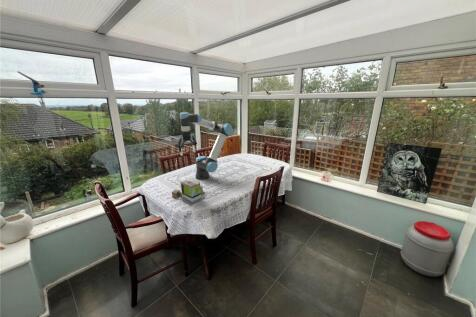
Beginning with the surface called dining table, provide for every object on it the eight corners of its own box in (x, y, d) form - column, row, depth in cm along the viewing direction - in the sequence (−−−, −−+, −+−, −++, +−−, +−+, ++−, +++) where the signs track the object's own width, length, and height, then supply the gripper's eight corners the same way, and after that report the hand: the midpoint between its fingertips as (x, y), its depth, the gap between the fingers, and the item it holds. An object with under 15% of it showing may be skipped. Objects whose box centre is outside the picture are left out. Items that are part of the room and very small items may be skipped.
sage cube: (184, 193, 170) (184, 189, 168) (186, 195, 167) (186, 191, 165) (180, 195, 167) (179, 191, 166) (182, 196, 164) (181, 192, 163)
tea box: (201, 197, 161) (200, 182, 156) (192, 202, 154) (190, 186, 149) (190, 192, 170) (189, 177, 165) (181, 196, 163) (179, 181, 158)
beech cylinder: (200, 190, 175) (200, 184, 173) (204, 192, 172) (203, 186, 170) (196, 192, 171) (195, 186, 169) (199, 194, 168) (199, 188, 166)
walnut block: (175, 194, 168) (175, 189, 167) (180, 195, 167) (179, 190, 165) (172, 196, 164) (171, 191, 162) (176, 197, 162) (176, 192, 161)
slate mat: (195, 192, 171) (195, 191, 171) (205, 197, 163) (205, 197, 162) (180, 199, 160) (180, 198, 159) (190, 205, 151) (190, 204, 151)
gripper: (194, 128, 173) (196, 150, 180) (170, 132, 155) (173, 156, 162) (199, 129, 169) (201, 151, 176) (175, 133, 151) (178, 157, 158)
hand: (188, 153), depth 169 cm, fingers open, 13 cm apart
